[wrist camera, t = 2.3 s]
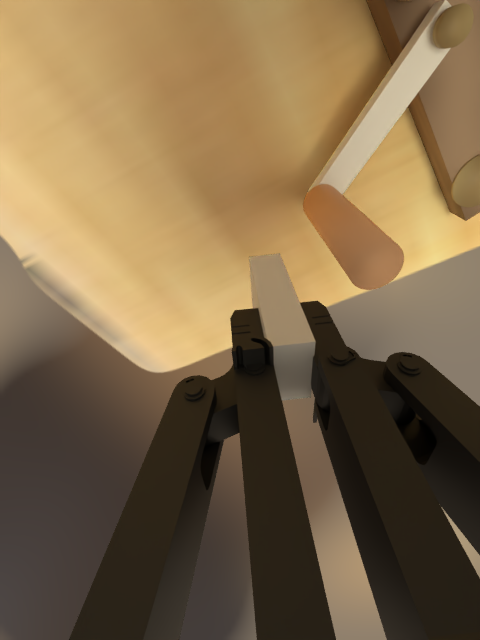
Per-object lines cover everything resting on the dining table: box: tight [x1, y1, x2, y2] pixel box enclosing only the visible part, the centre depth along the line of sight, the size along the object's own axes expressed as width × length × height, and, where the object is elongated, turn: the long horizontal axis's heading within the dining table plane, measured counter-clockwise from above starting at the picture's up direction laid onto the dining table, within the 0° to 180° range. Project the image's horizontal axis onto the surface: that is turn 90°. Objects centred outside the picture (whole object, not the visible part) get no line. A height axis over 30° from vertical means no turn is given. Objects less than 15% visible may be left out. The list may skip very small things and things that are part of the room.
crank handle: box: [303, 0, 451, 290], centre depth 16 cm, size 2×12×10 cm, turn 149°
